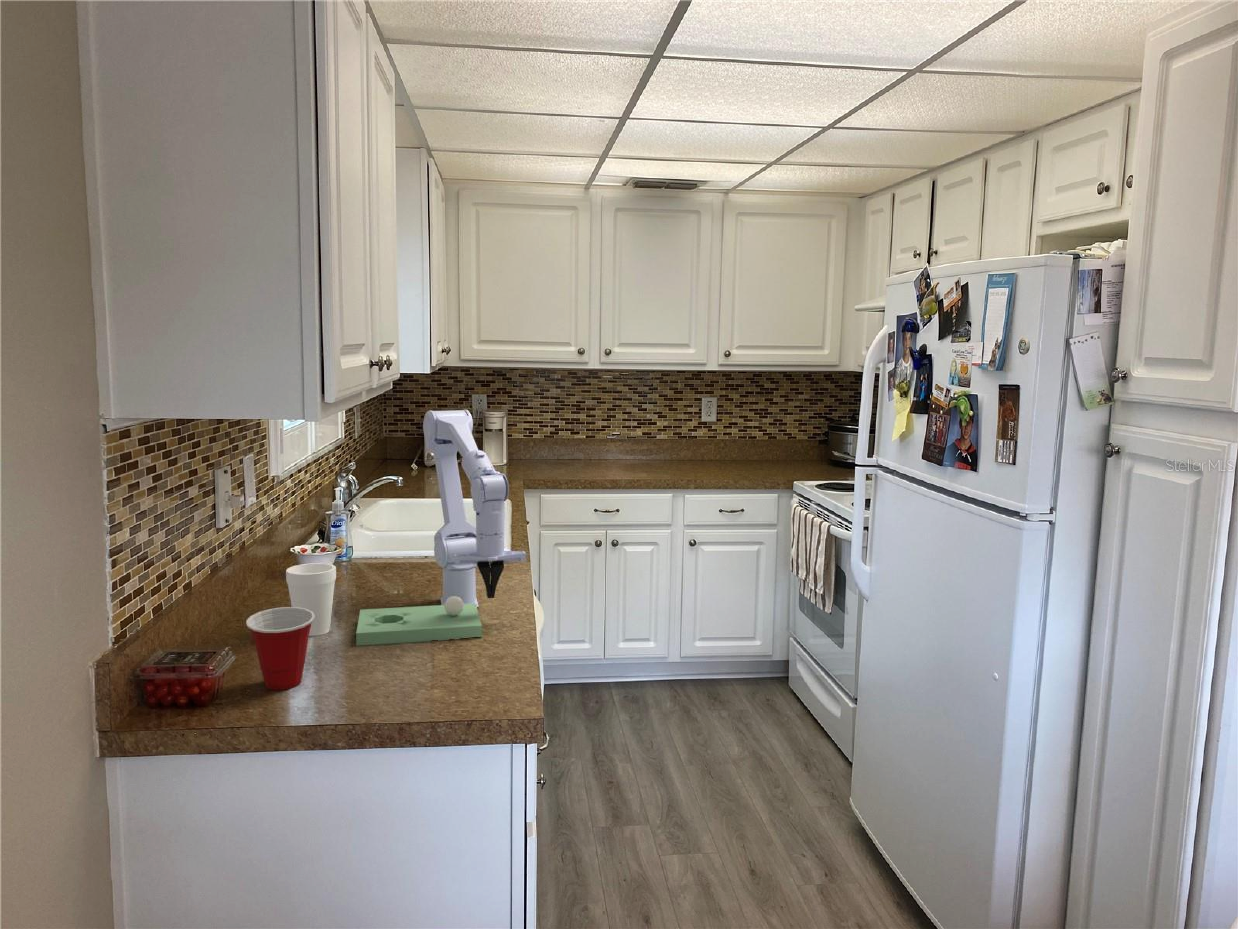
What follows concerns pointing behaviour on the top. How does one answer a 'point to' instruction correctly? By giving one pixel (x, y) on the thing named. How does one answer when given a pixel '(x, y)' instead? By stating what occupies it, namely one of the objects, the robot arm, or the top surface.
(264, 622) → the plastic cup
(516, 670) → the top surface
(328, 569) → the foam cup
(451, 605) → the ball
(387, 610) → the putting mat
